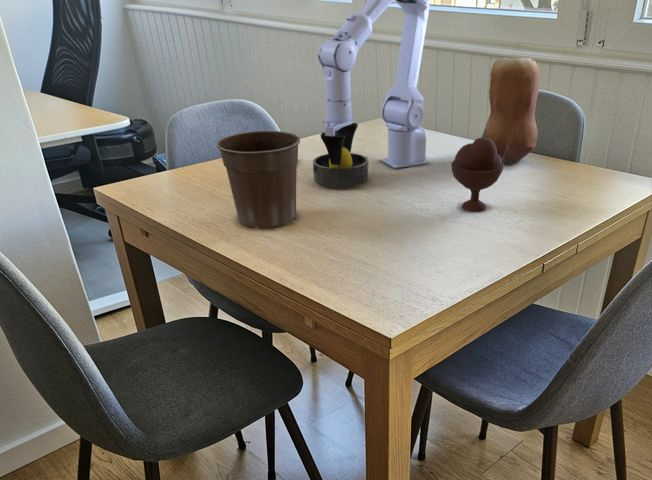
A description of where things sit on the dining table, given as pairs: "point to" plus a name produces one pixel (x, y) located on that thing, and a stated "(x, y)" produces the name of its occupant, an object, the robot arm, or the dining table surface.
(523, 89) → the butternut squash
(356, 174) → the bowl
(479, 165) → the ice cream bowl
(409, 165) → the robot arm
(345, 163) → the lemon
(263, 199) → the plant pot
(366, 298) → the dining table surface
